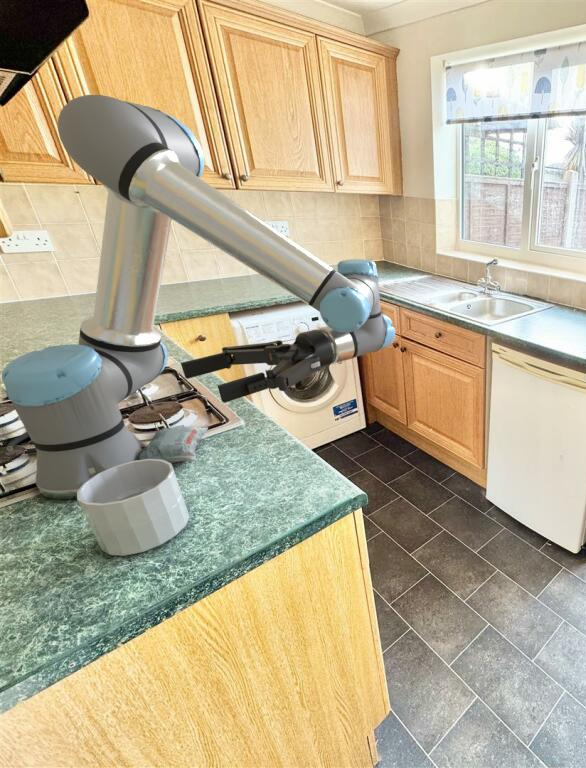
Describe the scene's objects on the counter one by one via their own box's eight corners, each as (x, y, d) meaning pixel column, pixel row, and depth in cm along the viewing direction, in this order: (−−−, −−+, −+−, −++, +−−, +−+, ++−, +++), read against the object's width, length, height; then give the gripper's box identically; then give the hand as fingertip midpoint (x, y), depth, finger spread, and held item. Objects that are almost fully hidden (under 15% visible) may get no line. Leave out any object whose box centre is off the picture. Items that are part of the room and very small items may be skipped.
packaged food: (210, 436, 91) (205, 417, 89) (196, 468, 81) (190, 446, 79) (161, 443, 88) (154, 422, 86) (141, 476, 78) (132, 454, 76)
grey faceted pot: (81, 555, 62) (54, 502, 57) (142, 505, 71) (123, 456, 67) (154, 560, 62) (132, 507, 57) (205, 509, 71) (189, 461, 67)
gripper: (365, 382, 77) (244, 428, 62) (292, 350, 90) (177, 382, 74) (361, 343, 74) (232, 381, 58) (286, 316, 87) (163, 342, 71)
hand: (201, 382), depth 66 cm, fingers open, 13 cm apart
